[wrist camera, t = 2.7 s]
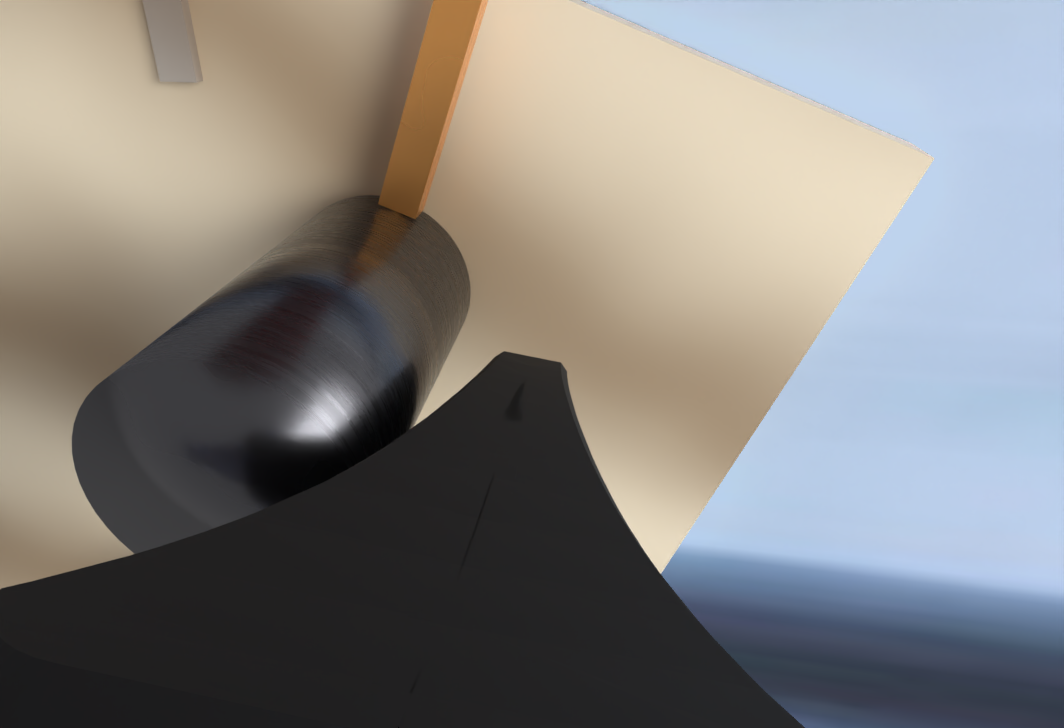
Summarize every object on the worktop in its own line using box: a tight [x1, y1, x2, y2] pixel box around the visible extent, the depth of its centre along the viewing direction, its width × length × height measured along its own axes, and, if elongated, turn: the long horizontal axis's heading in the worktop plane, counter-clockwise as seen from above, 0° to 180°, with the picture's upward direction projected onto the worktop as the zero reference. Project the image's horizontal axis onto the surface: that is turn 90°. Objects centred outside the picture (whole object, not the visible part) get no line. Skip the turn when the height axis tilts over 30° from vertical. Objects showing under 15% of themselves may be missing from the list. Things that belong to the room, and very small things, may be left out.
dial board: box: [0, 0, 934, 589], centre depth 15 cm, size 20×21×1 cm
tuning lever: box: [72, 0, 488, 554], centre depth 11 cm, size 16×4×6 cm, turn 160°
